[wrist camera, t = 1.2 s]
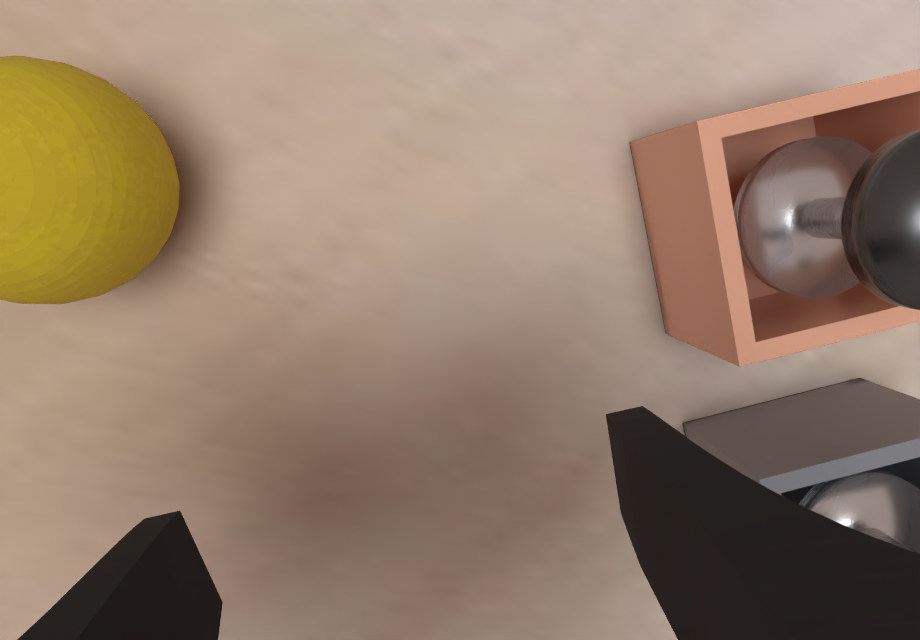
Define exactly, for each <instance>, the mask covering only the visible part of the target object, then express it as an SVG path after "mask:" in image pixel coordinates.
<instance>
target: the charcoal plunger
mask: <svg viewBox="0 0 920 640" xmlns="http://www.w3.org/2000/svg"><path fill="white" fill-rule="evenodd" d="M799 505H801V506H803V507H805V508H807V509H810V510H812V511H814V512H816V513H818V514H820V515H823V516H825V517H827V518H829V519H831V520H834V521H836V522H838V523H840V524H842V525H845V526H847V527H850V528H852V529H854V530H857V531H859V532H862V533H864V534H867V535H869V536H872V537H875V538H877V539H880V540H883V541H886V542H888V543H891V544H894V545H896V546H899V547H902V548H904V549H907V550H910V551H913V552H915V553H918V554H920V489H918V488H917V487H916V486H914V485H913V484H911V483H909V482H907V481H906V480H904V479H902V478H900V477H898V476H896V475H894V474H892V473H890V472H888V471H885V470H882V469H878V468H876V469H872V470H868V471H864V472H860V473H856V474H853V475H849V476H845V477H841V478H837V479H833V480H830V481H826V482H822V483H818V484H817V485H815V486H814V487H813V488H812V489H811V490H810V491H809V492H808V493H807V494H806V495H805V496H804V498H803V499H802V500H801V502H800V503H799Z"/></svg>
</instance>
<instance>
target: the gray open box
mask: <svg viewBox="0 0 920 640" xmlns="http://www.w3.org/2000/svg"><path fill="white" fill-rule="evenodd" d="M683 427H684V432H685V437H687V438H688V439H690V440H691V441H693V442H694V443H695V444H697V445H698V446H700V447H701V448H703V449H704V450H706V451H707V452H709V453H710V454H712V455H713V456H715V457H717V458H718V459H720V460H721V461H723V462H724V463H726V464H728V465H729V466H731V467H732V468H734V469H735V470H737V471H739V472H740V473H742V474H744V475H745V476H747V477H749V478H750V479H752V480H754V481H756V482H758V483H759V484H761V485H763V486H765V487H767V488H768V489H770V490H772V491H774V492H776V493H777V494H779V495H781V496H783V497H785V498H787V499H789V500H791V501H793V502H795V503H797V504H799V503H800V502H801V500H802V499H803V498H804V496H805V495H806V494H807V493H808V492H809V491H810V490H811V489H812V488H813V487H814V486H815V485H817V484H818V483H822V482H826V481H830V480H833V479H837V478H841V477H845V476H849V475H853V474H856V473H860V472H864V471H868V470H872V469H876V468H878V469H882V470H885V471H888V472H890V473H892V474H894V475H896V476H898V477H900V478H902V479H904V480H906V481H907V482H909V483H911V484H913V485H914V486H916V487H917V488H918V489H920V399H917V398H914V397H911V396H909V395H906V394H903V393H900V392H897V391H895V390H892V389H889V388H886V387H883V386H881V385H878V384H875V383H872V382H869V381H867V380H864V379H861V378H859V379H855V380H851V381H847V382H843V383H839V384H835V385H831V386H827V387H823V388H819V389H815V390H811V391H807V392H803V393H800V394H796V395H792V396H788V397H784V398H780V399H776V400H772V401H768V402H764V403H760V404H756V405H752V406H748V407H745V408H741V409H737V410H733V411H729V412H725V413H721V414H717V415H713V416H709V417H705V418H701V419H697V420H693V421H689V422H686V423H683Z"/></svg>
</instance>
